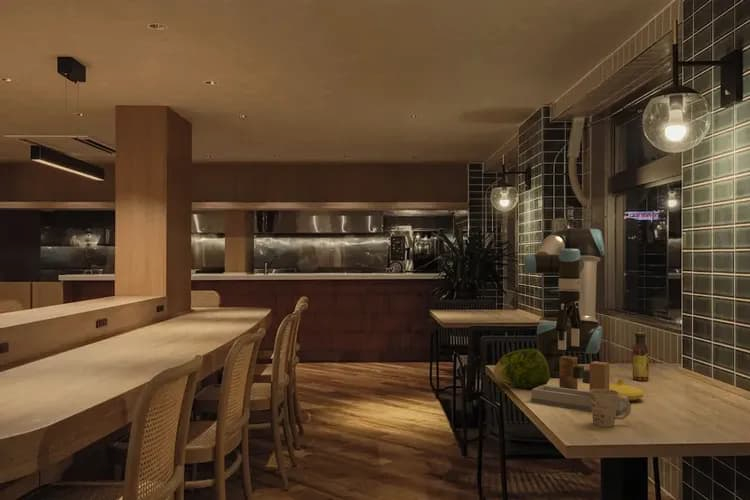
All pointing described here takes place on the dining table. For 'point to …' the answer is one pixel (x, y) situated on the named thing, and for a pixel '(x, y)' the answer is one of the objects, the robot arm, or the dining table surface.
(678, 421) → the dining table surface
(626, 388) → the yellow curved piece
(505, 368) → the lettuce
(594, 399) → the mug
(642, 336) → the sauce bottle
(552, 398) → the brown blocky pieces
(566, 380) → the brown tall block
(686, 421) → the dining table surface
